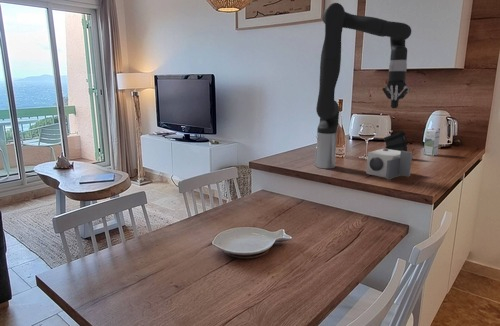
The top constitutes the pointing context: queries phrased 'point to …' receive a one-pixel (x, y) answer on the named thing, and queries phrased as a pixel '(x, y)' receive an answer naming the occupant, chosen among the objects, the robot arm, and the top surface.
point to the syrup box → (431, 142)
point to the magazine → (396, 142)
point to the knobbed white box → (380, 161)
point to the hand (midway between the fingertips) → (394, 108)
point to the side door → (399, 165)
